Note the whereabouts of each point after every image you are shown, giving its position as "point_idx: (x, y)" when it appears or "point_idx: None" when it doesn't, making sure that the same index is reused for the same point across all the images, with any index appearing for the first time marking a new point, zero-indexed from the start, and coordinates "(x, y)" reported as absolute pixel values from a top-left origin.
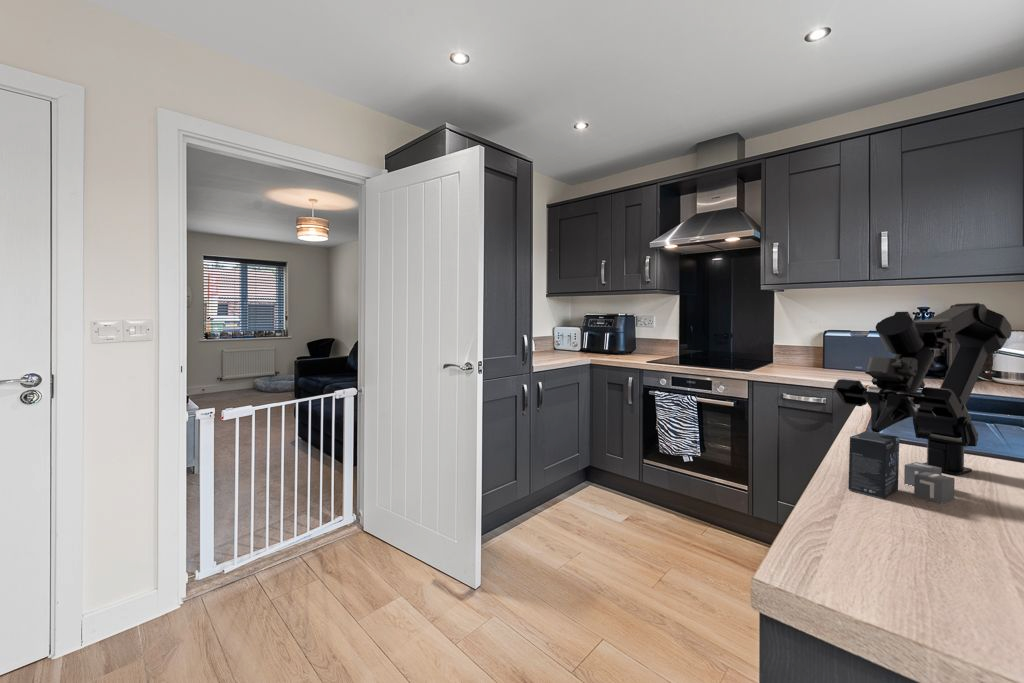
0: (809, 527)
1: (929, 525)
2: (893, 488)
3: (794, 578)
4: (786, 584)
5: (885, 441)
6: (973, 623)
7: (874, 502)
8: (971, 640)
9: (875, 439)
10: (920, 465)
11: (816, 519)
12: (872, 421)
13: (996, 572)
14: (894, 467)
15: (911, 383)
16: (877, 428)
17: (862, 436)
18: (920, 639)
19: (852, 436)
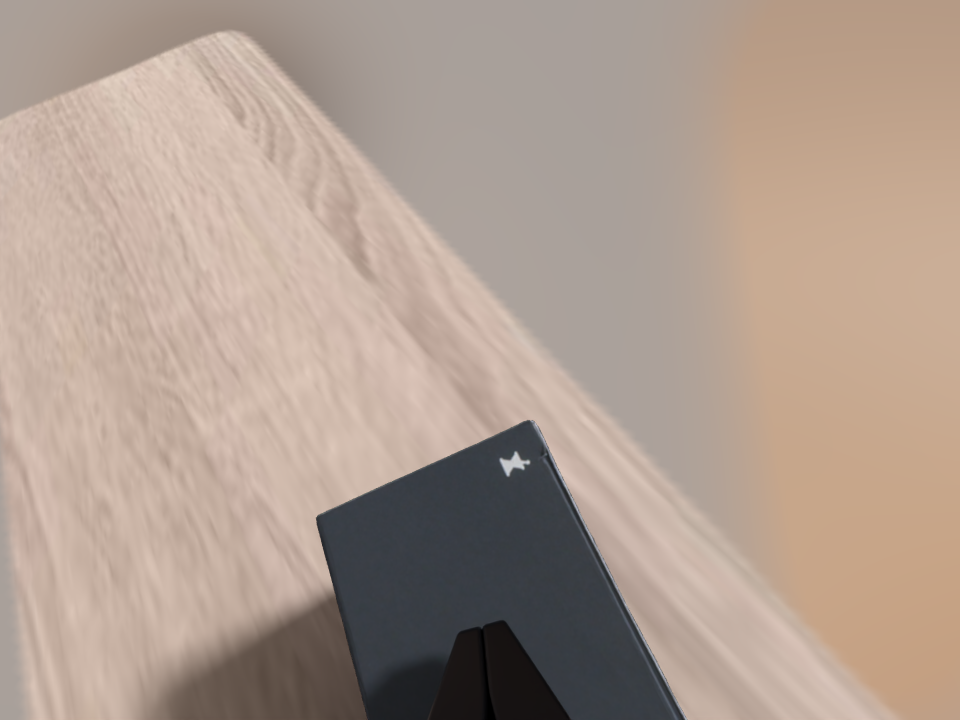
0: (336, 175)
1: (209, 473)
2: None
3: (216, 58)
4: (212, 43)
5: (338, 557)
6: (19, 177)
7: None
8: (14, 146)
9: (401, 527)
10: None
11: (364, 215)
12: (528, 682)
13: (24, 362)
14: None
15: None
16: (453, 649)
17: (507, 514)
18: (55, 101)
19: (528, 436)
